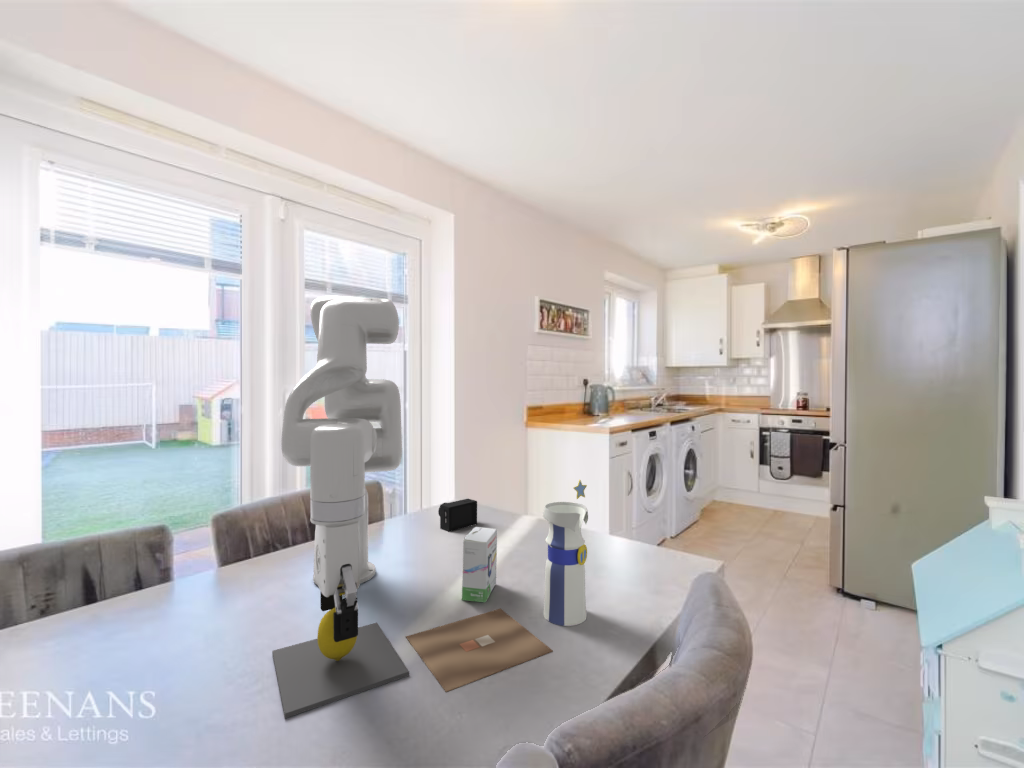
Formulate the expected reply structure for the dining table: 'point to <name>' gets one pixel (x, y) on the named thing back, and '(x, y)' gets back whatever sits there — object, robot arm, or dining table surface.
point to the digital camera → (458, 514)
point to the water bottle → (565, 562)
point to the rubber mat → (335, 670)
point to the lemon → (332, 639)
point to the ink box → (479, 564)
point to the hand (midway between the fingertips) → (338, 622)
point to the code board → (475, 648)
